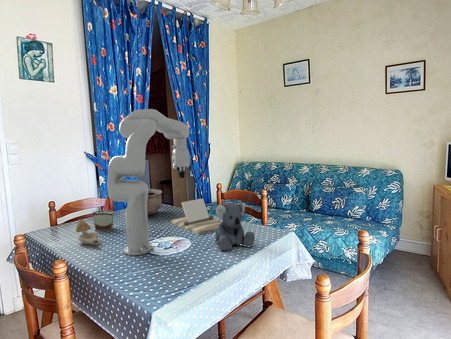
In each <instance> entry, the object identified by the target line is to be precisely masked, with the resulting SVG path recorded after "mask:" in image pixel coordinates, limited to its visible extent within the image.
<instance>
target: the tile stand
mask: <svg viewBox="0 0 451 339" xmlns="http://www.w3.org/2000/svg"><path fill="white" fill-rule="evenodd" d="M209 218H210V219H208V220H204V221H200V222H196V223H192V224H188V222H187V220H186V217H185V216H182V217H177V218H175V219H170V220H169V221H170V224H172V225H175V226H177V227H180V228H183V229H185V230H187V231H189V232H191V231H192V232H191V233H194V234H196V233H197V234H196V235H198V234H200V235H203V234H202V233H204V234H206V233H205V232H208V233H210V232H209V231H211V232H213V231H212V230H215V229H218V226H219V224H220V223H221V222H223V220H222V221H221V220H220V219H215V218H214V216H213V215H209ZM215 231H216V230H215Z"/></svg>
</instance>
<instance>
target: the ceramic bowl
mask: <svg viewBox="0 0 451 339" xmlns="http://www.w3.org/2000/svg"><path fill="white" fill-rule="evenodd" d="M162 193H163V191H162V190H161V189H154V188H148V198H147V216H150V215H153V214H156V213H157V212H158V211H159V210H160V208H161V206H162V204H163V199H162ZM126 203H127V206H128V205H129V202H126Z"/></svg>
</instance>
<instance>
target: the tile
mask: <svg viewBox="0 0 451 339" xmlns="http://www.w3.org/2000/svg"><path fill="white" fill-rule="evenodd" d="M180 205H181V207H182V210H183V213H184V217H186V220H187V222H188V224H192V223H196V222H200V221H204V220H208V219H210V218H209V216H210V215H209V212H208V209H207V207H206V204H205V200H204V198H198V199H192V200H186V201H182V202H181V203H180Z"/></svg>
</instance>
